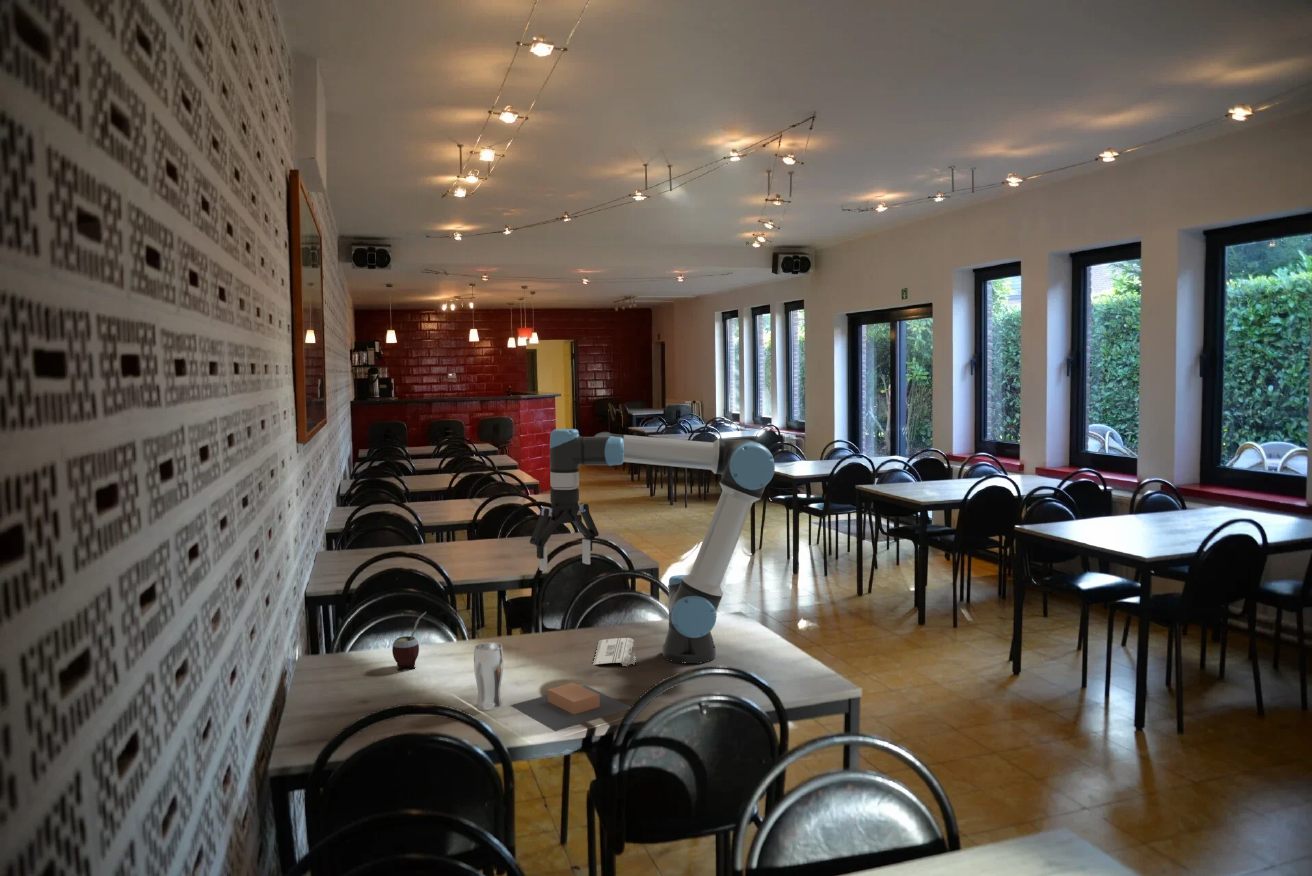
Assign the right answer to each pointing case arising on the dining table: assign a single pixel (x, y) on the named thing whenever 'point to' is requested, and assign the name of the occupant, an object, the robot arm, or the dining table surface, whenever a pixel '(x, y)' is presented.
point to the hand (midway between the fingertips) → (565, 567)
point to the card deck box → (573, 698)
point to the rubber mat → (564, 719)
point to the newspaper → (614, 651)
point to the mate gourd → (406, 650)
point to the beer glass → (488, 674)
